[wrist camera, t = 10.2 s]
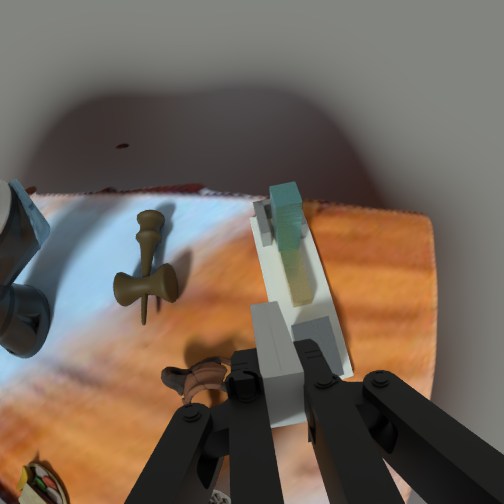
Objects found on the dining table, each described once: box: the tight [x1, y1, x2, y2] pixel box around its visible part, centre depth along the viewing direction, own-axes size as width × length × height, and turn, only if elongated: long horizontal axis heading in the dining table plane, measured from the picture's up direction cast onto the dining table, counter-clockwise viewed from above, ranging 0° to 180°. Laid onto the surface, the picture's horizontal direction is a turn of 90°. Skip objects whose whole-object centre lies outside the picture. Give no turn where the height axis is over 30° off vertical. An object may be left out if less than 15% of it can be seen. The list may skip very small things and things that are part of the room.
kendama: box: [113, 210, 178, 325], centre depth 46 cm, size 6×10×20 cm
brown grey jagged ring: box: [161, 357, 231, 405], centre depth 36 cm, size 12×10×8 cm
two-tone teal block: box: [269, 182, 313, 308], centre depth 39 cm, size 14×3×13 cm, turn 11°
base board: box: [250, 210, 354, 379], centre depth 43 cm, size 28×9×1 cm, turn 11°
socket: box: [253, 199, 307, 247], centre depth 46 cm, size 6×7×4 cm
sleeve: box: [291, 316, 344, 376], centre depth 37 cm, size 8×5×4 cm, turn 11°
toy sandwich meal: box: [17, 463, 67, 504], centre depth 27 cm, size 12×14×5 cm
